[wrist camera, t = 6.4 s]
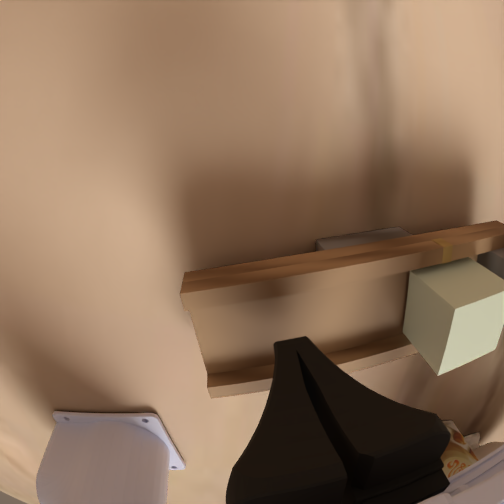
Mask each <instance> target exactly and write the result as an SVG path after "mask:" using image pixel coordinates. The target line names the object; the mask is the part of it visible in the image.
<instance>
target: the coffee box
mask: <svg viewBox="0 0 504 504" xmlns="http://www.w3.org/2000/svg"><path fill="white" fill-rule="evenodd" d="M442 422H443V423H444V425H445V426H446V427H447V429H448V430H449V432H450V434H451V438H450V441H449V444H448V446H447V447H446V449H445V451H444V453H443V454H442V456H441V460H442V462H443V463H444V467H443V468H442V470H443V472H444V473H445V475H446V477H447V478H449V477H451V476H453V475H455V474H457V473H458V472H460V471H462V470H464V469H465V468H467V467H469V466H471V465H472V464H474V463H476V462H477V461H479V460H478V459H477V457H476V456H475V454H474V453H473V451H472V450H471V448H470V446H469V445H468V443H467V442H466V440H465V439H464V437H463V436H462V434H461V433H460V431H459V430H458V428H457V427H456V425H455V424H454V422H453V421H452V420H451V421H442Z"/></svg>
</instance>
